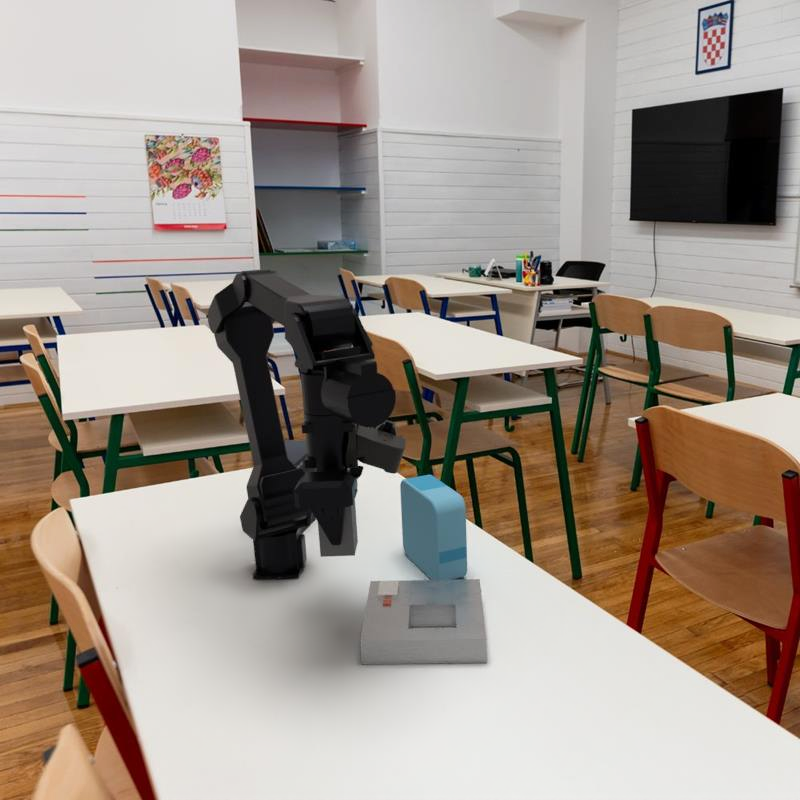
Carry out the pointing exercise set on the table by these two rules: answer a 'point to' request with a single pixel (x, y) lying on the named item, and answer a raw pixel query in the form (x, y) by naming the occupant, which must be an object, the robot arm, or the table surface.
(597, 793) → the table surface
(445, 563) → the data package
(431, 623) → the faceplate
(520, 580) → the table surface
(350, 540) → the plug
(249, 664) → the table surface
